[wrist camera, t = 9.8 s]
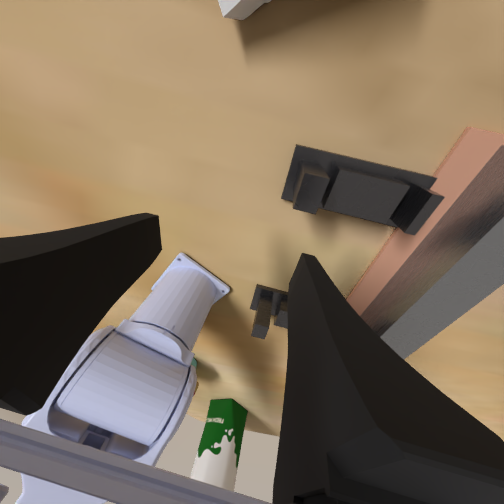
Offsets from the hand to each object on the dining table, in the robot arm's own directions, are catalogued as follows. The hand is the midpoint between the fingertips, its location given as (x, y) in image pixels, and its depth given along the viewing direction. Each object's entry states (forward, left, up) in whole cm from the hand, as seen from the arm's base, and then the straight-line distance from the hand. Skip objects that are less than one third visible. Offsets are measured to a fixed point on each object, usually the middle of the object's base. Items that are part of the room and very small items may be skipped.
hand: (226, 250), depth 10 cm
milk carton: (-46, -31, -11) cm, 56 cm away
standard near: (+6, -6, -10) cm, 13 cm away
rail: (+4, -18, -10) cm, 21 cm away
